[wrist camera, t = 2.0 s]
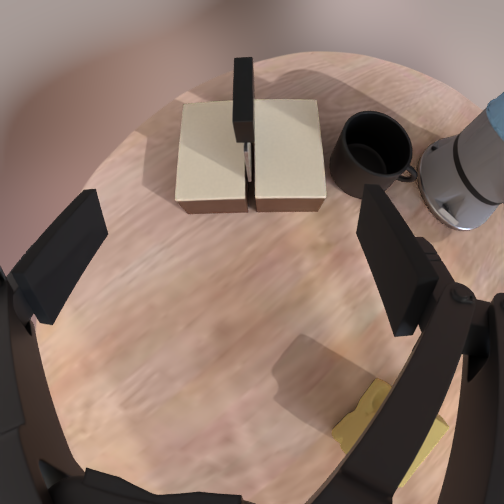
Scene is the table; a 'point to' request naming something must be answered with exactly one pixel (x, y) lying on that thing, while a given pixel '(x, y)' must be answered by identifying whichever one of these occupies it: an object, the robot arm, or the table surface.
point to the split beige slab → (266, 158)
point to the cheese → (364, 413)
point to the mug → (371, 153)
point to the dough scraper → (244, 107)
